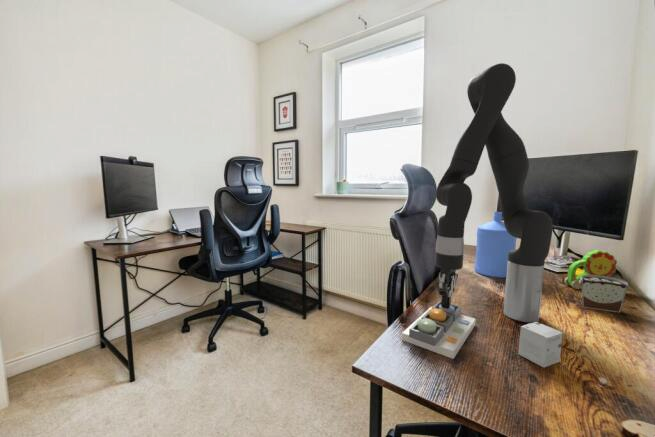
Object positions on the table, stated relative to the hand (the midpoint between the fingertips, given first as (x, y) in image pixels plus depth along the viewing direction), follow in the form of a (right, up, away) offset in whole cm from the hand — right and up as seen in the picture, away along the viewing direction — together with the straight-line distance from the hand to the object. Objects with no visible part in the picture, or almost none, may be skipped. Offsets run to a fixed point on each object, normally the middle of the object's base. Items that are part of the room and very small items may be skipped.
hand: (445, 307), depth 87 cm
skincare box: (+15, -7, -18) cm, 24 cm away
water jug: (+41, +2, +46) cm, 61 cm away
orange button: (-5, -1, -6) cm, 8 cm away
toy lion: (+68, -1, +28) cm, 73 cm away
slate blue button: (0, -2, 0) cm, 2 cm away
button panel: (-4, -5, -6) cm, 9 cm away
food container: (+55, -3, +11) cm, 57 cm away
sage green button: (-10, -2, -12) cm, 16 cm away
